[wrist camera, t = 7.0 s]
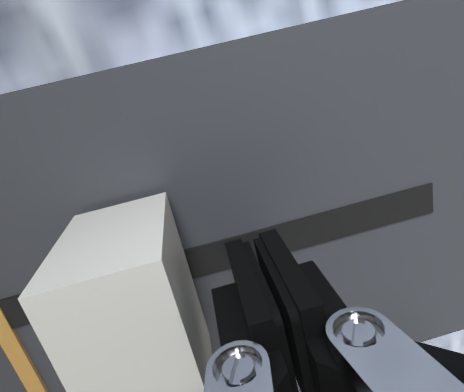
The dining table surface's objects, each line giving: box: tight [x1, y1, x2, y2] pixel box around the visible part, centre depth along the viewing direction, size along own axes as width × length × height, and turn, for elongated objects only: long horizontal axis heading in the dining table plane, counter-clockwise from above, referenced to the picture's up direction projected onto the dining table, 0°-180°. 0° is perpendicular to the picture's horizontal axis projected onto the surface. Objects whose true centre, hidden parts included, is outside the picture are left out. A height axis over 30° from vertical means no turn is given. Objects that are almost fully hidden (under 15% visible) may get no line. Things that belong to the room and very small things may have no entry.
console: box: [0, 0, 464, 392], centre depth 14 cm, size 14×24×3 cm, turn 103°
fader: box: [18, 192, 212, 392], centre depth 11 cm, size 6×3×4 cm, turn 13°
